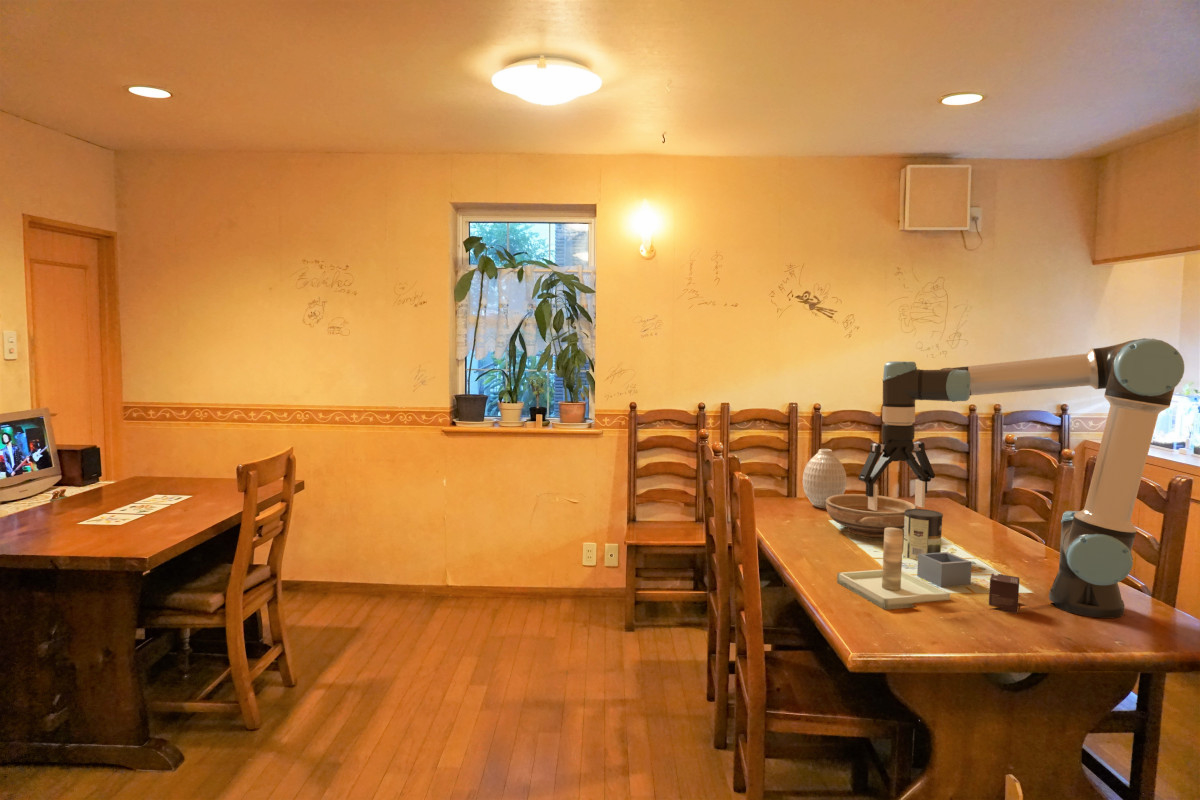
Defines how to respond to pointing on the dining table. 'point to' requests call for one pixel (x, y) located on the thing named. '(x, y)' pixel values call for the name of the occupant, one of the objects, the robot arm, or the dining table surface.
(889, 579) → the dowel
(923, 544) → the coffee can
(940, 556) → the grey square bin
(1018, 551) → the dining table surface
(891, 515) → the ceramic bowl
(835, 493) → the vase
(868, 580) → the tray
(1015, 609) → the box
